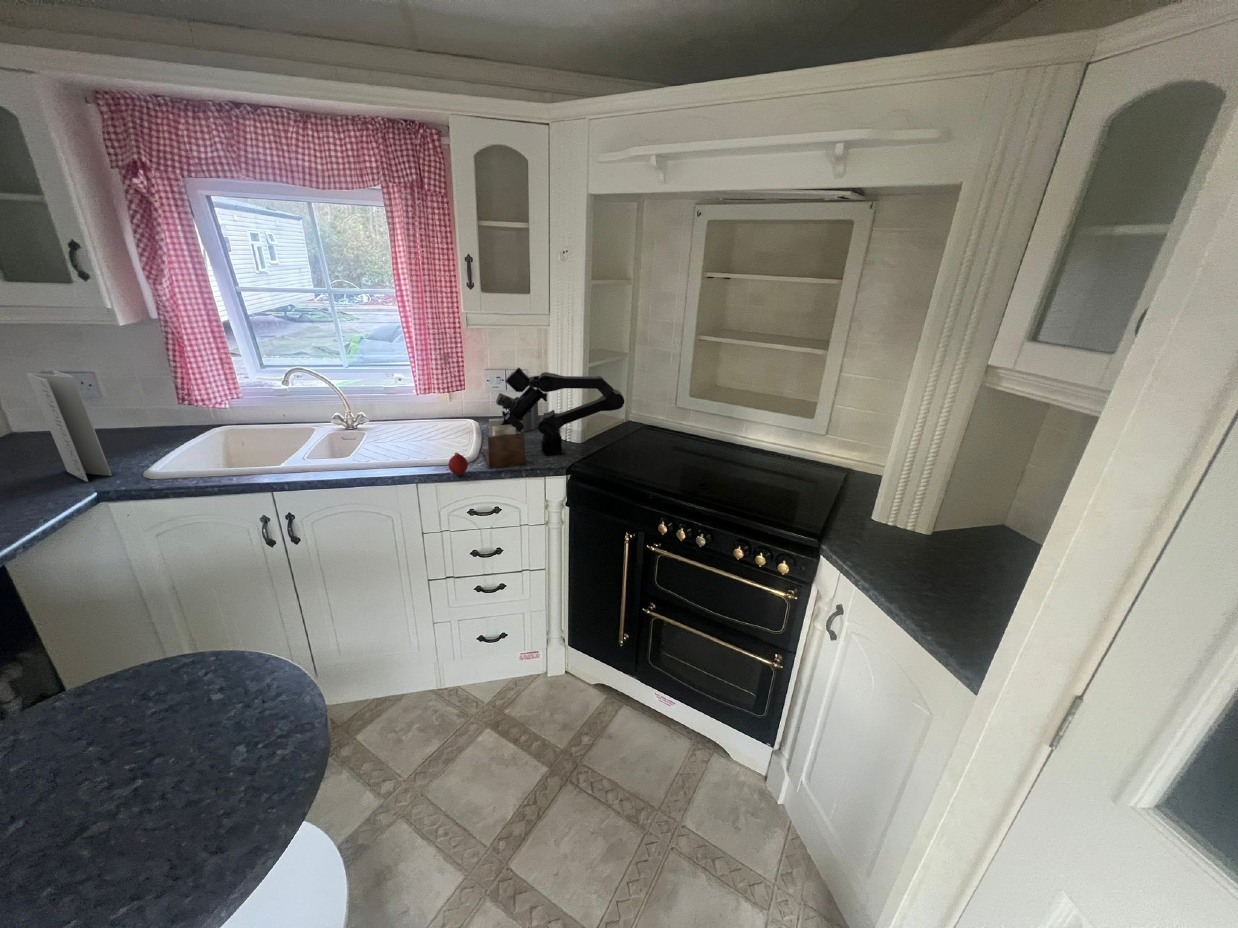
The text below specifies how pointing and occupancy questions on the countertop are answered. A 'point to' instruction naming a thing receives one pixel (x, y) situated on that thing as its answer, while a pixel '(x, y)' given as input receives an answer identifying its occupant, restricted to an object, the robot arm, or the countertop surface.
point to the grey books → (530, 419)
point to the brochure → (69, 424)
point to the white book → (494, 424)
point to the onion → (458, 464)
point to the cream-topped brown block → (505, 447)
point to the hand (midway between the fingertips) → (496, 433)
